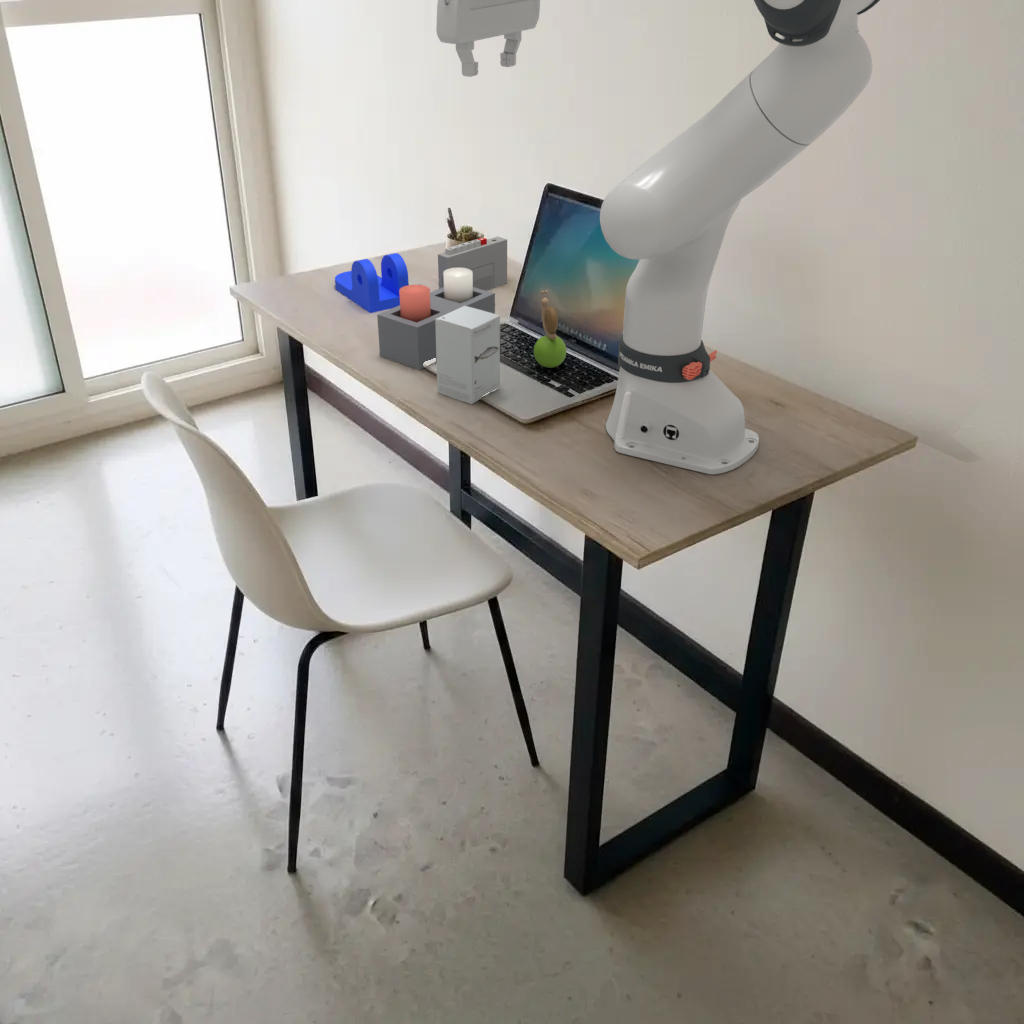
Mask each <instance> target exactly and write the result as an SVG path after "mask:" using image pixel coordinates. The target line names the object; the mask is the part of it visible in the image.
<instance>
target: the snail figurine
mask: <svg viewBox="0 0 1024 1024" xmlns="http://www.w3.org/2000/svg"><path fill="white" fill-rule="evenodd" d="M548 292H549V291H548V290H547V289H546V290H541V291H540V294H541V301H540V303H541V320H542V321H541V322H542V326H543V330H544V332H545V334H544V335H543V336H541V337H540V338H539V339H537V341H536V342H535V343H534V347H533V357H534V359H535V361H536V362H537V363H538V364H539V365H540V366H542V367H544V368H548V369H549V368H550V369H552V368H557V367H558V366H560V365H561V364H562V363H563V362H564V361H565V360H566V356H567V346H566V344H565V341H564V340H563V339H562V338H561V337H560V336H558V335H557V333H556V332H557V330H558V327H559V318H558V314H557V313H558V312H557V310H556V309H555V308H554V307H553V306H549V304H550V301H549V298H547V297H543V295H544V294H545V295H547V294H548Z"/></svg>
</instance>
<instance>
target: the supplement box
mask: <svg viewBox="0 0 1024 1024" xmlns="http://www.w3.org/2000/svg"><path fill="white" fill-rule="evenodd" d="M435 326H436V361H437V362H436V386H437V387H436V390H437V391H436V392H437V393H438V394H441V395H444V396H447V397H449V398H452V399H455V400H458V401H460V402H463V403H467V404H469V405H473V404H474V403H476V402H477V401H479V400H481V399H483V398H482V396H483V395H485V394H486V393H488V392H491V391H493V390H495V389H497V388H499V387H500V385H501V384H500V383H501V381H500V380H501V379H500V378H501V375H500V373H501V372H500V371H501V369H500V368H501V367H500V366H501V364H500V362H501V359H500V358H501V346H500V345H501V315H500V314H496V313H495V314H493V313H490V312H486V311H483V310H479V309H475V308H471V307H468V306H463V307H461V308H459V309H456V310H454V311H452V312H450V313H448V314H445V315H443V316H441V317H439V318H436V319H435ZM499 389H500V388H499Z"/></svg>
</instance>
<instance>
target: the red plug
mask: <svg viewBox="0 0 1024 1024" xmlns="http://www.w3.org/2000/svg"><path fill="white" fill-rule="evenodd" d="M430 292H431V289H430V288H429V287H428V286H426V285H423V284H409V285H407V286H404V287H402V288H400V290H399V293H400V312H401V318H404V319H407V320H410V321H413V322H419V321H422V320H424V319H426V318H428V317H431V308H430Z"/></svg>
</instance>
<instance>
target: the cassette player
mask: <svg viewBox="0 0 1024 1024" xmlns="http://www.w3.org/2000/svg"><path fill="white" fill-rule="evenodd" d="M437 267H438V273H437V274H438V289H440V288H442V287H444V277H443V272H444V271H445V270H447V269H450V268H467V269H470V270H471V271H472V272H473V287H475V288H478V289H482V290H485V291H490V290H492V289H496V288H498V287H499V288H500V287H501V286H505V285H507V284H508V239H506V238H504V237H501V236H499V235H498V236H495V237H491V238H486V237H480V238H476V239H473V240H470V241H467V242H466V241H465V242H463V243H459V244H456V245H453V246H450V247H447V248H445V251H444V252H441V253H439V254H437Z"/></svg>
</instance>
